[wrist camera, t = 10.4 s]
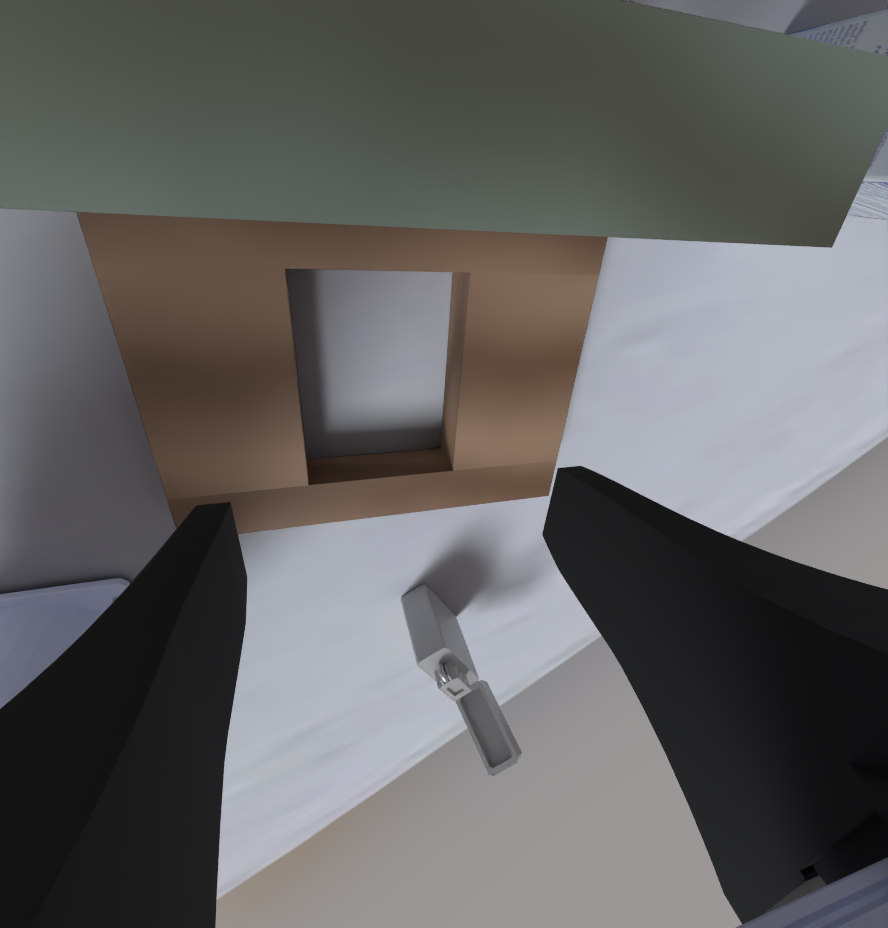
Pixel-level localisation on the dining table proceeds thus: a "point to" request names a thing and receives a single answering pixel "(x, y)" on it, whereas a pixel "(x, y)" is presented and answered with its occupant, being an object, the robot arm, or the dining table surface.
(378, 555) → the dining table surface
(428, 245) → the socket board
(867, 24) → the medicine box
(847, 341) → the dining table surface
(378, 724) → the dining table surface
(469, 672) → the lighter
